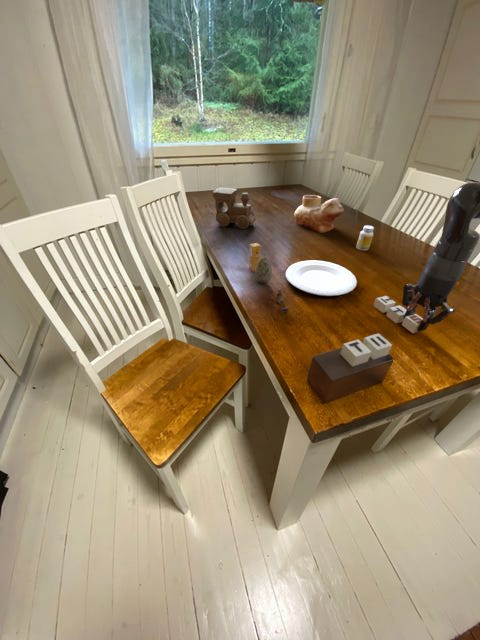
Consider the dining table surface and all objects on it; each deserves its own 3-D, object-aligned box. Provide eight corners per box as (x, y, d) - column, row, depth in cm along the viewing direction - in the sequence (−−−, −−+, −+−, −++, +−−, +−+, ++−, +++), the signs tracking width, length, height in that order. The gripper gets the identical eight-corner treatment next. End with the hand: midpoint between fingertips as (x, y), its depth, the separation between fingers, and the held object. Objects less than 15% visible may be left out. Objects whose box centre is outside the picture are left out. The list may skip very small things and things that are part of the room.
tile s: (423, 330, 77) (428, 321, 75) (412, 333, 76) (417, 325, 74) (411, 321, 80) (416, 313, 78) (401, 324, 78) (405, 316, 77)
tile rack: (382, 382, 63) (394, 359, 58) (324, 404, 58) (332, 380, 53) (361, 361, 68) (371, 338, 63) (306, 379, 64) (312, 356, 59)
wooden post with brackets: (279, 294, 90) (282, 286, 86) (284, 315, 86) (288, 308, 82) (273, 294, 90) (276, 287, 86) (279, 316, 86) (282, 309, 82)
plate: (289, 299, 89) (290, 294, 88) (281, 263, 109) (282, 259, 108) (365, 300, 89) (367, 295, 88) (343, 264, 109) (345, 260, 108)
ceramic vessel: (328, 236, 131) (336, 204, 122) (287, 222, 146) (291, 192, 137) (344, 229, 138) (352, 198, 129) (303, 216, 154) (308, 188, 144)
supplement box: (256, 266, 107) (257, 242, 101) (259, 270, 104) (261, 246, 98) (248, 268, 106) (249, 243, 100) (251, 272, 103) (252, 247, 97)
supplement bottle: (353, 247, 121) (359, 226, 115) (360, 244, 124) (366, 223, 118) (364, 252, 118) (371, 230, 112) (371, 248, 121) (378, 227, 115)
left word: (387, 354, 59) (392, 344, 57) (352, 366, 56) (356, 356, 54) (374, 343, 62) (378, 332, 60) (340, 353, 59) (343, 343, 57)
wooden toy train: (213, 226, 141) (211, 191, 130) (221, 219, 149) (220, 186, 139) (250, 231, 136) (251, 195, 126) (256, 223, 145) (257, 189, 134)
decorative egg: (260, 276, 101) (261, 251, 95) (274, 281, 98) (276, 255, 92) (251, 283, 97) (252, 257, 91) (265, 288, 94) (267, 262, 88)
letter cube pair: (406, 320, 81) (411, 312, 79) (395, 323, 80) (399, 315, 78) (383, 303, 88) (386, 295, 86) (372, 306, 87) (375, 298, 85)
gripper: (481, 283, 62) (445, 338, 73) (427, 257, 73) (403, 308, 83) (458, 289, 60) (424, 345, 71) (406, 261, 70) (384, 314, 81)
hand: (413, 325), depth 77 cm, fingers closed on tile s, 4 cm apart
